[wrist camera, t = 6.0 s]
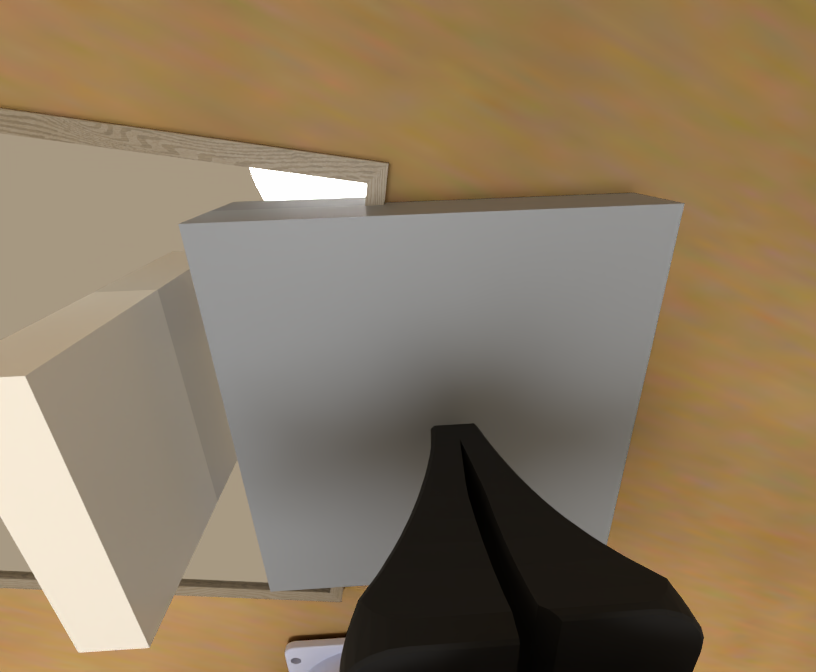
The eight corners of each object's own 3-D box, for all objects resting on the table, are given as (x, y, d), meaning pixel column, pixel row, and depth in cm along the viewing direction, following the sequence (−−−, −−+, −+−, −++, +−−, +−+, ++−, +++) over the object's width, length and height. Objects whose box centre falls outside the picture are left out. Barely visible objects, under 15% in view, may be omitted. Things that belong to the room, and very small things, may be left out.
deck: (575, 519, 19) (600, 569, 17) (284, 537, 19) (270, 591, 17) (633, 192, 13) (684, 203, 11) (214, 209, 13) (178, 223, 11)
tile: (149, 647, 12) (78, 652, 12) (221, 492, 18) (173, 495, 18) (24, 375, 9) (-78, 380, 9) (164, 284, 14) (102, 287, 14)
